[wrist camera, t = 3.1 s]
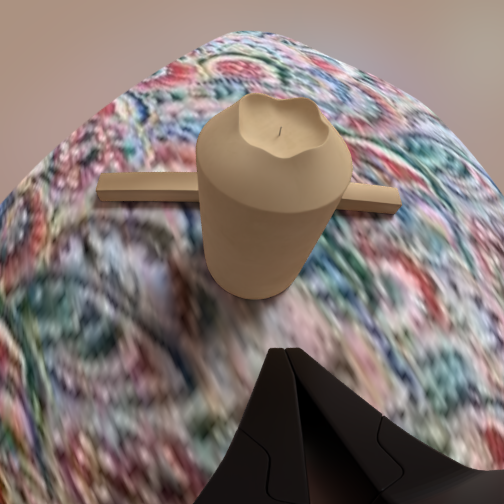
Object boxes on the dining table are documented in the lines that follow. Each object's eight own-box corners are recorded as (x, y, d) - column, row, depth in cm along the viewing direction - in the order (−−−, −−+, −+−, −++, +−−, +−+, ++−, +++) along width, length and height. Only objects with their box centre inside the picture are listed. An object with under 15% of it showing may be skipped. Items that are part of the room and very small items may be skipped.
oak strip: (394, 214, 20) (402, 204, 19) (100, 201, 19) (95, 190, 18) (390, 197, 21) (397, 188, 20) (105, 184, 19) (101, 173, 18)
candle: (185, 254, 18) (157, 113, 9) (251, 198, 20) (273, 58, 11) (255, 321, 16) (298, 221, 7) (318, 255, 18) (393, 130, 9)
